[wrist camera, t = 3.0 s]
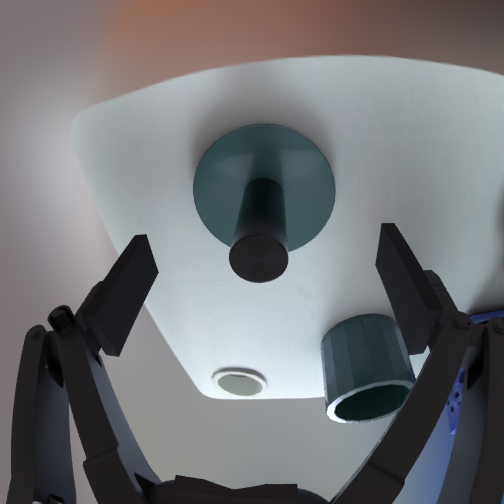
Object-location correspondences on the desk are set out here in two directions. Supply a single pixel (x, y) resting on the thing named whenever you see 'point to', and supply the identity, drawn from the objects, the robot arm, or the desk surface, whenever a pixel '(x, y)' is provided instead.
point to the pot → (365, 369)
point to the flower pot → (456, 392)
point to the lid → (263, 196)
